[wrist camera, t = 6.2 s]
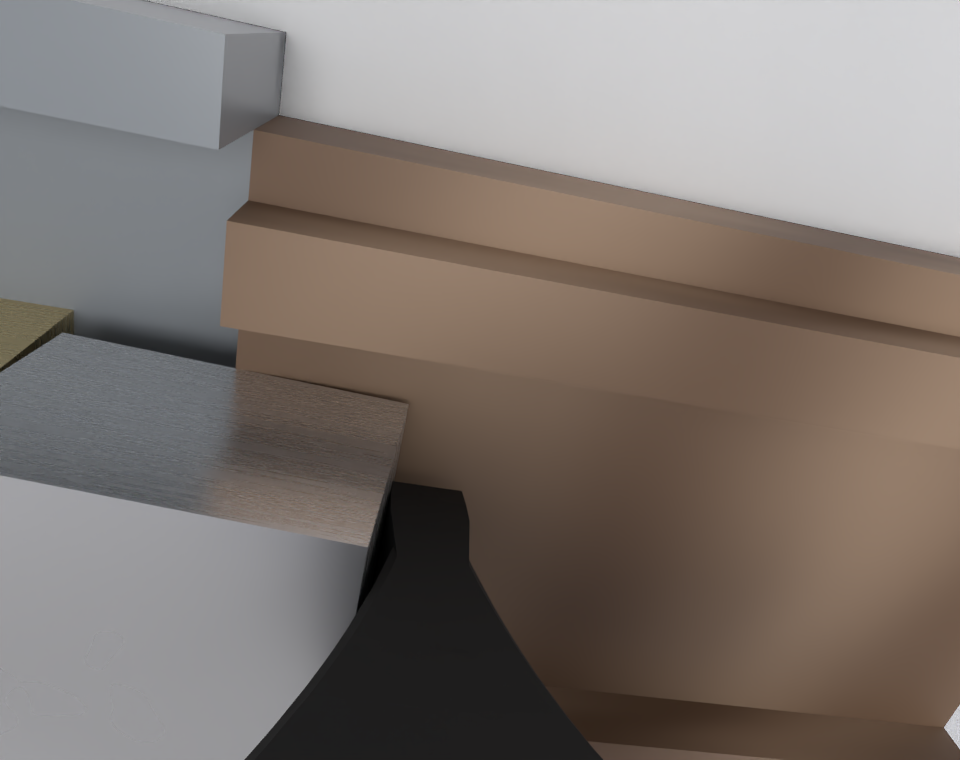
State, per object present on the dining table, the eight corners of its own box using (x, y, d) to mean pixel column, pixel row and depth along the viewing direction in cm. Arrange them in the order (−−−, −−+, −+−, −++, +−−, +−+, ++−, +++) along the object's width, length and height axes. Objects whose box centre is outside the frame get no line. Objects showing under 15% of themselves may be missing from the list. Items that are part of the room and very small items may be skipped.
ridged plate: (1123, 292, 11) (1293, 357, 9) (854, 731, 16) (926, 850, 13) (278, 115, 10) (231, 142, 7) (229, 667, 14) (189, 794, 11)
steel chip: (408, 404, 10) (367, 547, 7) (365, 631, 11) (318, 818, 8) (62, 332, 9) (-124, 451, 7) (70, 574, 11) (-76, 749, 8)
